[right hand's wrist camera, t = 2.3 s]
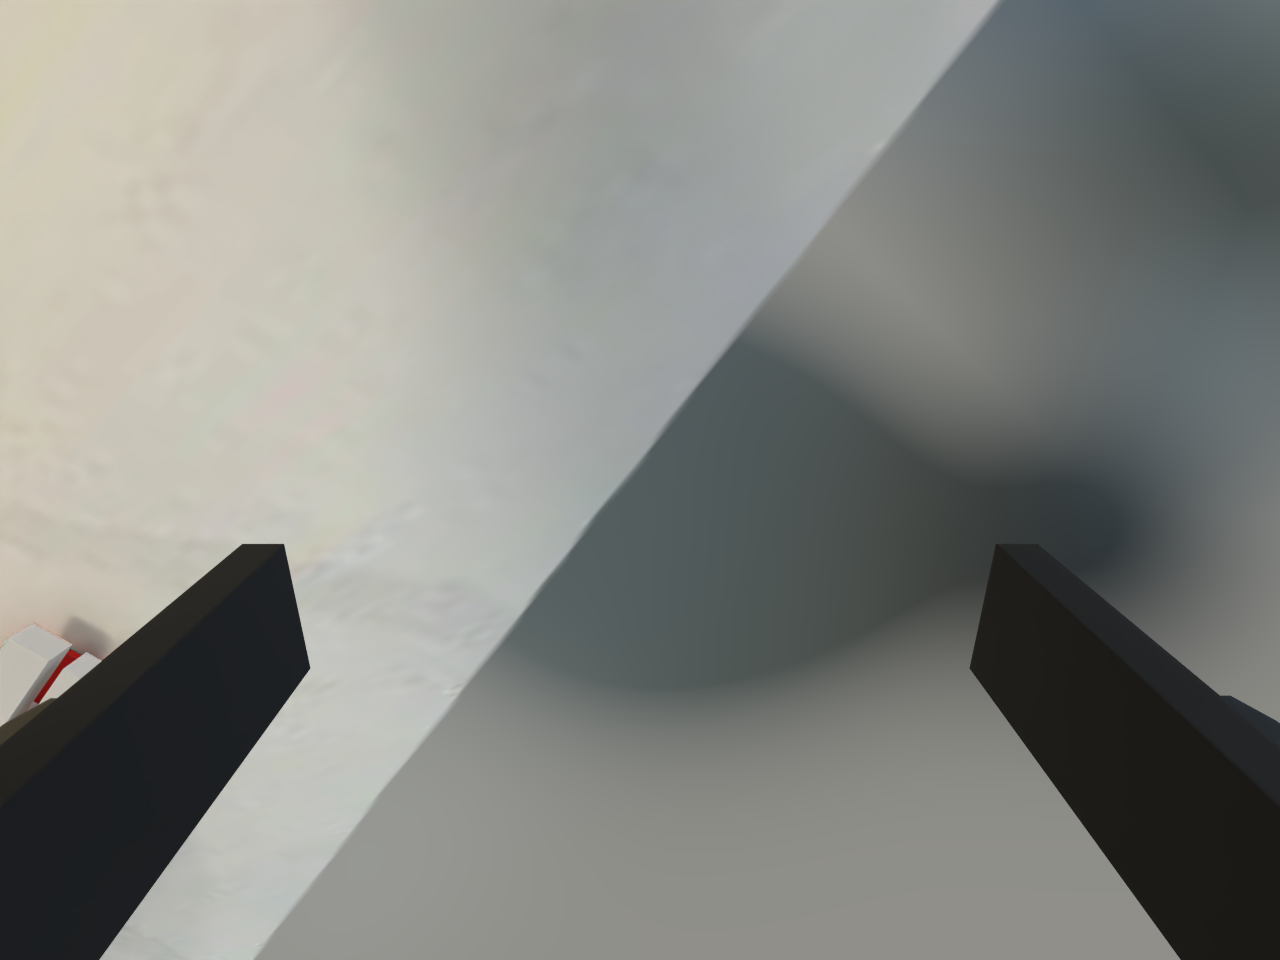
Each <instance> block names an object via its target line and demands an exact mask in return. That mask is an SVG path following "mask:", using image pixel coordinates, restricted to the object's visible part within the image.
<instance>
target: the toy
mask: <svg viewBox="0 0 1280 960" xmlns="http://www.w3.org/2000/svg"><path fill="white" fill-rule="evenodd" d="M72 645H73V644H71V643H69V642H68V641H66V640H64V639H62V638H60V637H59V636H57V635H55V634H53V633H51V632H50V631H48V630H46V629H44V628H42V627H41V626H39V625H37V624H35V623H33V624H31V625H29V626H28V627H26V628H24V629H23V630H21V631H19V632H17V633H16V634H14V635H12V636H11V637H9V638H8V639H7V640H6V642H5V643H4V645H3V646H2V648H1V649H0V727H1V726H2V725H3V724H4V723H6V722H8V721H10V720H12V719H13V718H15V717H17V716H19V715H21V714H23V713H24V712H26V711H28V710H30V709H32V708H33V707H35V706H37V705H39V704H41V703H43V702H44V701H46V700H48V699H50V698H58V697H59V696H60V695H62V694H63V693H64V692H65V691H66V690H68V689H69V688H70V687H71V686H72V685H74V684H75V683H76V682H77V681H78V680H80V679H81V678H82V677H83V676H84V675H86V674H87V673H88V672H89V671H90V670H92V669H93V668H94V667H95V666H96V665H98V664H99V663H100V662H101V661H102V660H100V659H98V658H96V657H94V656H93V655H91V654H89V653H87V652H86V653H85V654H83V655H82V656H81V655H79V654H77V653H76V652H74V651H72V650H70V648H71V646H72Z"/></svg>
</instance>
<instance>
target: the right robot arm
mask: <svg viewBox="0 0 1280 960" xmlns="http://www.w3.org/2000/svg"><path fill="white" fill-rule="evenodd" d="M309 669H310V665H309V660H308V655H307V650H306V646H305V641H304V636H303V632H302V627H301V622H300V617H299V613H298V608H297V603H296V599H295V594H294V589H293V584H292V580H291V575H290V570H289V566H288V561H287V556H286V551H285V547H284V544H242V545H241V546H239V547H238V548H237V549H236V550H235V551H233V552H232V553H231V554H230V555H229V556H227V557H226V558H225V559H224V560H223V561H221V562H220V563H219V564H218V565H217V566H215V567H214V568H213V569H212V570H211V571H209V572H208V573H207V574H206V575H205V576H203V577H202V578H201V579H200V580H199V581H197V582H196V583H195V584H194V585H193V586H191V587H190V588H189V589H188V590H187V591H185V592H184V593H183V594H182V595H181V596H179V597H178V598H177V599H176V600H175V601H173V602H172V603H171V604H170V605H169V606H167V607H166V608H165V609H164V610H163V611H161V612H160V613H159V614H158V615H157V616H155V617H154V618H153V619H152V620H151V621H149V622H148V623H147V624H146V625H145V626H143V627H142V628H141V629H140V630H138V631H137V632H136V633H135V634H134V635H132V636H131V637H130V638H129V639H128V640H126V641H125V642H124V643H123V644H122V645H120V646H119V647H118V648H117V649H116V650H114V651H113V652H112V653H111V654H110V655H108V656H107V657H106V658H105V659H104V660H102V661H101V662H100V663H99V664H98V665H96V666H95V667H94V668H93V669H92V670H90V671H89V672H88V673H87V674H86V675H84V676H83V677H82V678H81V679H80V680H78V681H77V682H76V683H75V684H74V685H72V686H71V687H70V688H69V689H68V690H66V691H65V692H64V693H63V694H62V695H60V696H59V697H58V698H50V699H48V700H46V701H44V702H43V703H41V704H39V705H37V706H35V707H33V708H32V709H30V710H28V711H26V712H24V713H23V714H21V715H19V716H17V717H15V718H13V719H12V720H10V721H8V722H6V723H4V724H3V725H2V726H1V727H0V960H99V959H100V958H101V956H102V955H103V954H104V952H105V951H106V950H107V948H108V947H109V945H110V944H111V943H112V941H113V940H114V939H115V937H116V936H117V934H118V933H119V932H120V930H121V929H122V928H123V926H124V925H125V923H126V922H127V921H128V919H129V918H130V916H131V915H132V914H133V912H134V911H135V910H136V908H137V907H138V905H139V904H140V903H141V901H142V900H143V899H144V897H145V896H146V894H147V893H148V892H149V890H150V889H151V887H152V886H153V885H154V883H155V882H156V881H157V879H158V878H159V876H160V875H161V874H162V872H163V871H164V870H165V868H166V867H167V865H168V864H169V863H170V861H171V860H172V858H173V857H174V856H175V854H176V853H177V852H178V850H179V849H180V847H181V846H182V845H183V843H184V842H185V841H186V839H187V838H188V836H189V835H190V834H191V832H192V831H193V830H194V828H195V827H196V825H197V824H198V823H199V821H200V820H201V818H202V817H203V816H204V814H205V813H206V812H207V810H208V809H209V807H210V806H211V805H212V803H213V802H214V801H215V799H216V798H217V796H218V795H219V794H220V792H221V791H222V789H223V788H224V787H225V785H226V784H227V783H228V781H229V780H230V778H231V777H232V776H233V774H234V773H235V772H236V770H237V769H238V767H239V766H240V765H241V763H242V762H243V761H244V759H245V758H246V756H247V755H248V754H249V752H250V751H251V749H252V748H253V747H254V745H255V744H256V743H257V741H258V740H259V738H260V737H261V736H262V734H263V733H264V732H265V730H266V729H267V727H268V726H269V725H270V723H271V722H272V720H273V719H274V718H275V716H276V715H277V714H278V712H279V711H280V709H281V708H282V707H283V705H284V704H285V703H286V701H287V700H288V698H289V697H290V696H291V694H292V693H293V692H294V690H295V689H296V687H297V686H298V685H299V683H300V682H301V680H302V679H303V678H304V676H305V675H306V674H307V672H308V671H309ZM970 669H971V671H972V672H973V674H974V675H975V676H976V678H977V679H978V680H979V682H980V683H981V685H982V686H983V687H984V689H985V690H986V692H987V693H988V694H989V695H990V697H991V698H992V700H993V701H994V703H995V704H996V705H997V707H998V708H999V709H1000V711H1001V712H1002V714H1003V715H1004V716H1005V718H1006V719H1007V720H1008V722H1009V723H1010V725H1011V726H1012V727H1013V729H1014V730H1015V731H1016V733H1017V734H1018V736H1019V737H1020V738H1021V740H1022V741H1023V743H1024V744H1025V745H1026V747H1027V748H1028V749H1029V751H1030V752H1031V754H1032V755H1033V756H1034V758H1035V759H1036V761H1037V762H1038V763H1039V765H1040V766H1041V767H1042V769H1043V770H1044V772H1045V773H1046V774H1047V776H1048V777H1049V778H1050V780H1051V781H1052V783H1053V784H1054V785H1055V787H1056V788H1057V789H1058V791H1059V792H1060V794H1061V795H1062V796H1063V798H1064V799H1065V800H1066V802H1067V803H1068V805H1069V806H1070V807H1071V809H1072V810H1073V812H1074V813H1075V814H1076V816H1077V817H1078V818H1079V820H1080V821H1081V822H1082V824H1083V825H1084V827H1085V828H1086V830H1087V831H1088V832H1089V834H1090V835H1091V836H1092V838H1093V839H1094V840H1095V842H1096V843H1097V845H1098V846H1099V847H1100V849H1101V850H1102V852H1103V853H1104V854H1105V856H1106V857H1107V858H1108V860H1109V861H1110V863H1111V864H1112V865H1113V867H1114V868H1115V870H1116V871H1117V872H1118V874H1119V875H1120V876H1121V878H1122V879H1123V881H1124V882H1125V883H1126V885H1127V886H1128V887H1129V889H1130V890H1131V892H1132V893H1133V894H1134V896H1135V897H1136V899H1137V900H1138V901H1139V903H1140V904H1141V905H1142V907H1143V908H1144V910H1145V911H1146V912H1147V914H1148V915H1149V916H1150V918H1151V919H1152V921H1153V922H1154V923H1155V925H1156V926H1157V927H1158V929H1159V930H1160V932H1161V933H1162V934H1163V936H1164V937H1165V939H1166V940H1167V941H1168V943H1169V944H1170V945H1171V947H1172V948H1173V950H1174V951H1175V952H1176V954H1177V955H1178V956H1179V958H1180V959H1181V960H1280V723H1278V722H1277V721H1276V720H1274V719H1272V718H1270V717H1268V716H1266V715H1265V714H1263V713H1261V712H1259V711H1257V710H1256V709H1254V708H1252V707H1250V706H1248V705H1246V704H1245V703H1243V702H1241V701H1239V700H1237V699H1235V698H1234V697H1232V696H1220V695H1218V694H1217V693H1216V692H1215V691H1214V690H1212V689H1211V688H1210V687H1209V686H1208V685H1206V684H1205V683H1204V682H1203V681H1202V680H1200V679H1199V678H1198V677H1197V676H1196V675H1194V674H1193V673H1192V672H1191V671H1190V670H1188V669H1187V668H1186V667H1185V666H1184V665H1182V664H1181V663H1180V662H1179V661H1178V660H1176V659H1175V658H1174V657H1173V656H1172V655H1170V654H1169V653H1168V652H1167V651H1165V650H1164V649H1163V648H1162V647H1161V646H1160V645H1158V644H1157V643H1156V642H1155V641H1153V640H1152V639H1151V638H1150V637H1149V636H1148V635H1146V634H1145V633H1144V632H1143V631H1141V630H1140V629H1139V628H1138V627H1137V626H1135V625H1134V624H1133V623H1132V622H1131V621H1129V620H1128V619H1127V618H1126V617H1125V616H1123V615H1122V614H1121V613H1120V612H1119V611H1117V610H1116V609H1115V608H1114V607H1113V606H1111V605H1110V604H1109V603H1108V602H1107V601H1105V600H1104V599H1103V598H1102V597H1101V596H1099V595H1098V594H1097V593H1096V592H1095V591H1093V590H1092V589H1091V588H1090V587H1089V586H1087V585H1086V584H1085V583H1084V582H1083V581H1081V580H1080V579H1079V578H1078V577H1077V576H1075V575H1074V574H1073V573H1072V572H1071V571H1069V570H1068V569H1067V568H1066V567H1064V566H1063V565H1062V564H1061V563H1060V562H1059V561H1057V560H1056V559H1055V558H1054V557H1053V556H1051V555H1050V554H1049V553H1048V552H1047V551H1045V550H1044V549H1043V548H1042V547H1041V546H1039V545H1038V544H996V547H995V551H994V556H993V561H992V566H991V570H990V575H989V580H988V584H987V589H986V594H985V599H984V603H983V608H982V613H981V617H980V622H979V627H978V632H977V636H976V641H975V646H974V650H973V655H972V660H971V665H970Z"/></svg>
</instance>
